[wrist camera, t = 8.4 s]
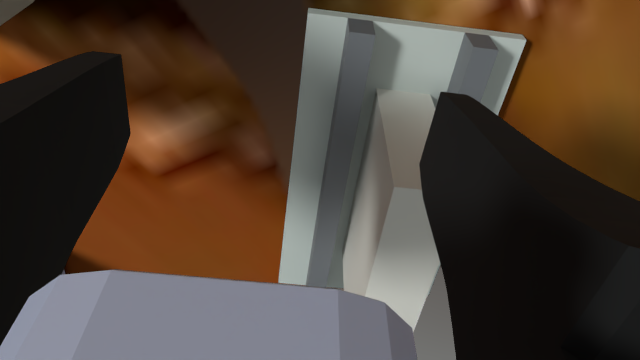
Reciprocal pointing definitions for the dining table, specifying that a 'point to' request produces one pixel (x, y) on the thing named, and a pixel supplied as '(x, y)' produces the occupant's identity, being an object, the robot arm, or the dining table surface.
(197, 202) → the dining table surface
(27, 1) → the travel mug
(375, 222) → the door panel
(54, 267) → the robot arm
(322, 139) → the track
